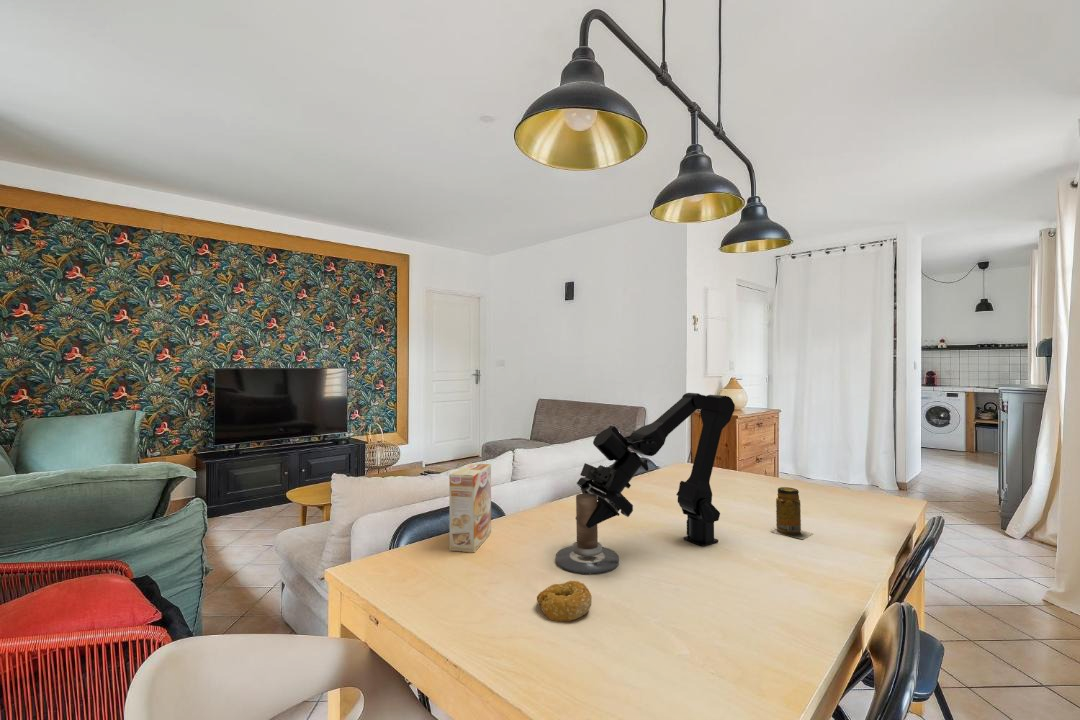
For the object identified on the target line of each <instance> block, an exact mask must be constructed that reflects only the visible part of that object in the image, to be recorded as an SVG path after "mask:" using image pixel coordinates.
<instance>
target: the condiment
mask: <svg viewBox="0 0 1080 720" xmlns="http://www.w3.org/2000/svg"><path fill="white" fill-rule="evenodd" d="M799 493H800V492H799V490H798V489H796V488H794V487H793V488H792V487H788V486H781V487H778V488H777V497H776V499H775V503H776V504H775V507H776V511H775V513H776V515H775V516H776V521H775V522H776V525H775V526H776V528H775V529H772V530H770V532H771V533H775V534H778V535H783V536H786V537H787V536H788V537H792V538H796V539H800V540H803V539H806V538H808V537H810V536H812V535H813V534H814V533H813V532H809V531H804V530H802V523H801V522H802V516H801V510H802V509H801V499H800V495H799Z"/></svg>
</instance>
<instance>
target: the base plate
mask: <svg viewBox="0 0 1080 720" xmlns="http://www.w3.org/2000/svg"><path fill="white" fill-rule="evenodd" d="M555 563H556V565H557V566H558V567H559V568H560V569H562V570H564V571H566V572H569V573H573V574H576V575H578V574H579V575H601V574H605V573H609V572H612V571H614V570H616V569H617V568H618V567H619V564H620V556H619V554H618V553H617V552H616V551H615V550H613V549H611V548H608V547H606V546H602V552H601V553H600V554H598V555H595V556H581V555H577V554H575V553H574V552H573V545H570V546H566V547H563V548H561V549H559V550H558V551H557V552H556V554H555Z"/></svg>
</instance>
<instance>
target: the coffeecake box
mask: <svg viewBox="0 0 1080 720" xmlns="http://www.w3.org/2000/svg"><path fill="white" fill-rule="evenodd" d="M448 477H449V478H448V479H449V485H448V486H449V487H448V488H449V490H448V491H449V496H448V497H449V548H448V549H449V551H450V552H452V551H453V552H461V551H462V552H464V553H473V552H474V553H476V552H477V550H478V549H479V548H480V547H479V546H481V545H482V544H484V542H485V541H486V540H485V539H488V537H489V536H490V535H492V464H489V463H468V464H466V465H463V466H462V467H460V468H458V469H457V470H455V471H454V472H452V473H450V474H449V475H448Z"/></svg>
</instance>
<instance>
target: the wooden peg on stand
mask: <svg viewBox="0 0 1080 720" xmlns="http://www.w3.org/2000/svg"><path fill="white" fill-rule="evenodd" d="M597 501H598V500H597V495H595V494H590V493H582V492H581V493H577V494H576V495H575V507H576V509H575V513H576V514H575V515H576V516H575V520H576V521H575V522H576V541H574V542H573V543H572V546H573V552H574V553H575V554H577V555H581V556H595V555H598V554H600V553H601V552H602V547H603V544H601V542H599V541H598V539H599V538H598V537H599V536H598V533H599V532H598V524H597V525H595V526H593V527H591V528H588V527H587V526H586V523H587V522H588V520H589V518H590V517H591V515H592V513H593V512H594V510H595V509H596V507H597Z"/></svg>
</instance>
